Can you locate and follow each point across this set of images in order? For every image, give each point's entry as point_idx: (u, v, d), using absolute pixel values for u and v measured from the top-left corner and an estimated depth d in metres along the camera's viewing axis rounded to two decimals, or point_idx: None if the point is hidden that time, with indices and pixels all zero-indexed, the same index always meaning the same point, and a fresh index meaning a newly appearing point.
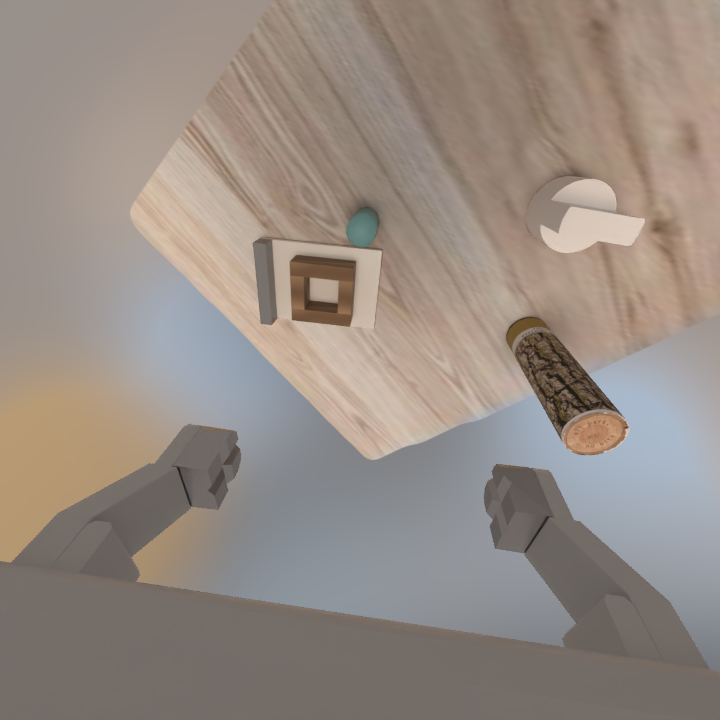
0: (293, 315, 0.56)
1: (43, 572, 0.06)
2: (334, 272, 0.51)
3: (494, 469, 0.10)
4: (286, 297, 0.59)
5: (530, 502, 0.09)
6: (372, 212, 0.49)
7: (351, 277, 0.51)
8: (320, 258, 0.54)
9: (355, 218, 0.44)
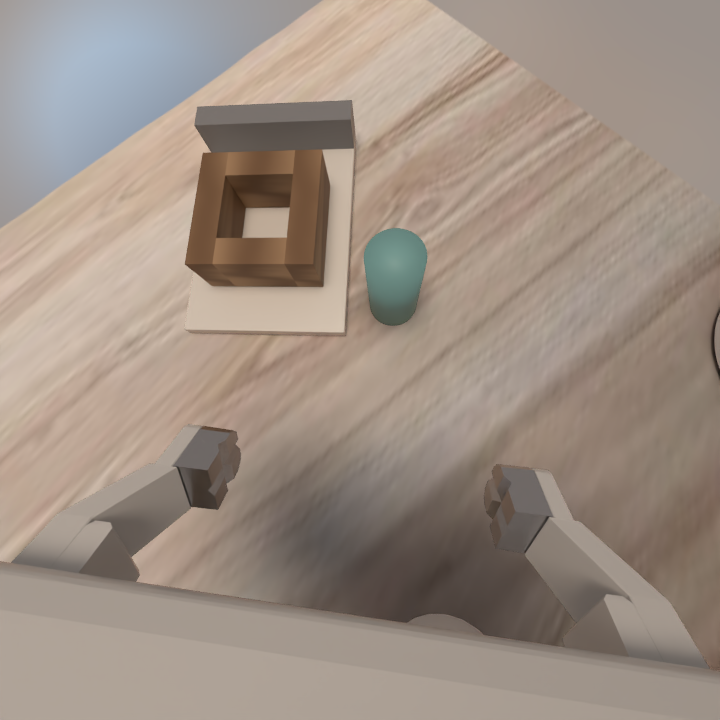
0: (211, 155, 0.27)
1: (43, 572, 0.06)
2: (303, 228, 0.25)
3: (494, 469, 0.10)
4: None
5: (530, 502, 0.09)
6: (415, 304, 0.26)
7: (294, 261, 0.25)
8: (326, 221, 0.29)
9: (421, 244, 0.21)
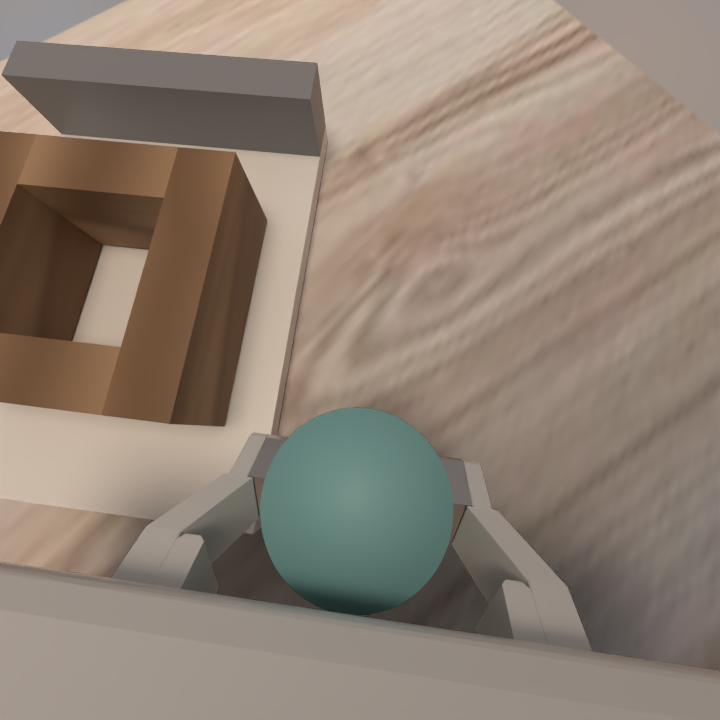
0: None
1: (43, 572, 0.06)
2: (163, 330, 0.11)
3: None
4: None
5: (452, 492, 0.09)
6: None
7: (125, 410, 0.10)
8: (245, 293, 0.15)
9: (437, 470, 0.07)
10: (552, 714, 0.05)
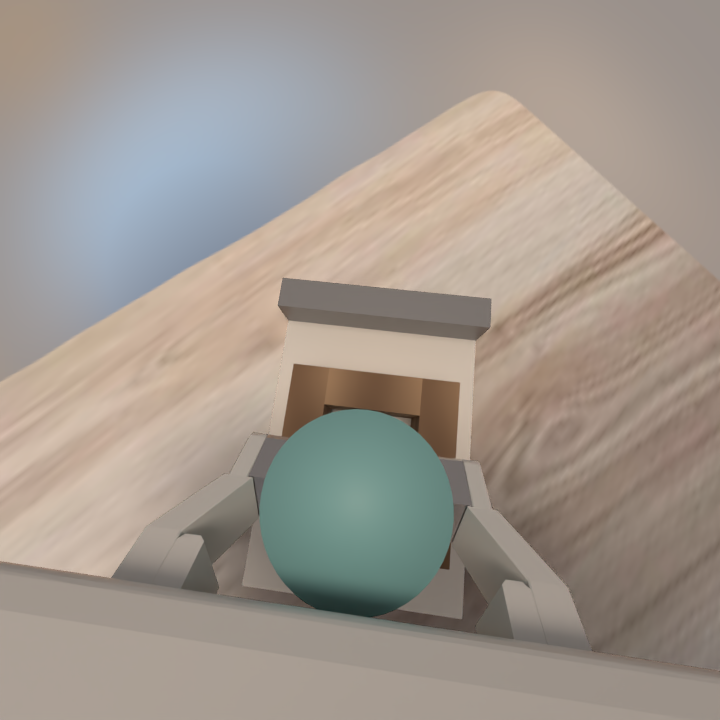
0: (306, 369, 0.20)
1: (43, 572, 0.06)
2: None
3: None
4: (340, 351, 0.24)
5: (452, 492, 0.09)
6: None
7: None
8: None
9: (437, 473, 0.07)
10: (552, 714, 0.05)
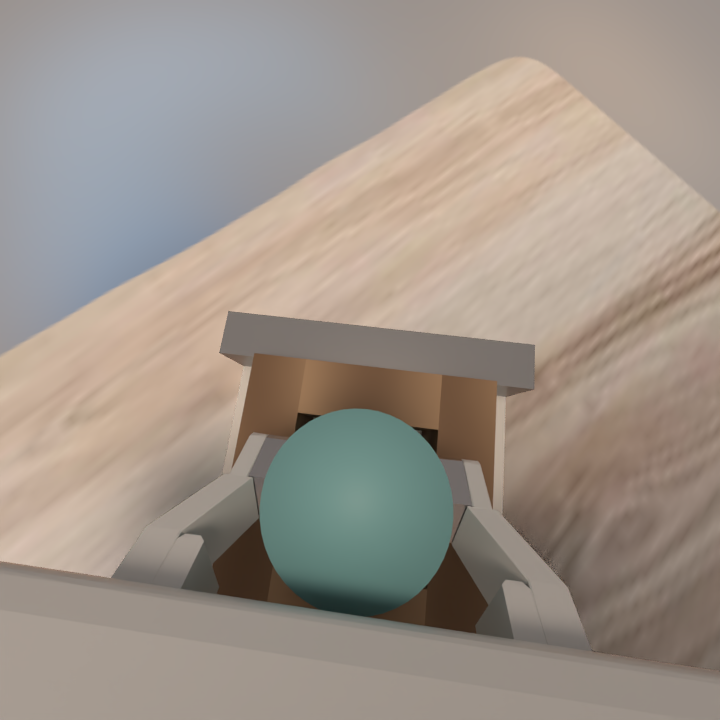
0: (272, 362, 0.14)
1: (43, 572, 0.06)
2: (463, 572, 0.12)
3: None
4: None
5: (452, 492, 0.09)
6: None
7: None
8: None
9: (437, 472, 0.07)
10: (552, 714, 0.05)
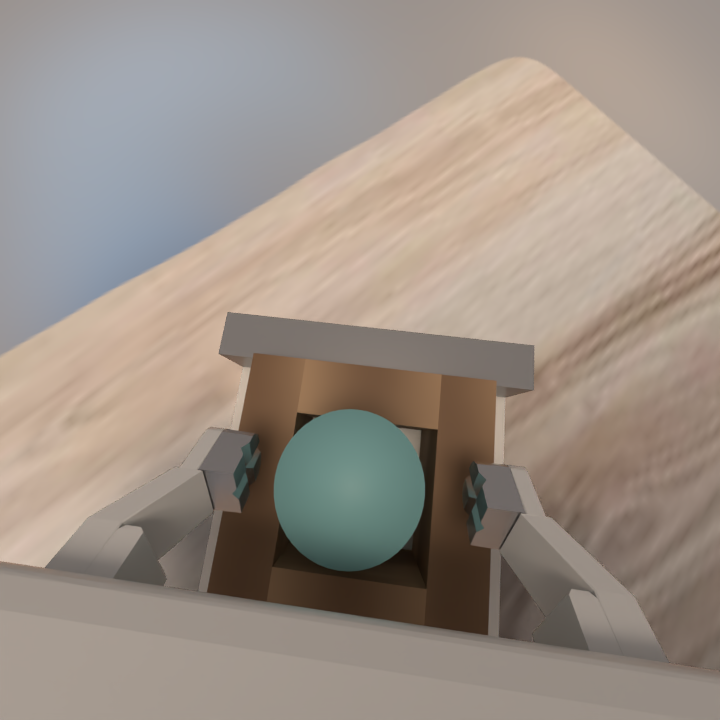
0: (271, 361, 0.14)
1: (43, 572, 0.06)
2: (463, 572, 0.12)
3: (471, 466, 0.10)
4: None
5: (503, 498, 0.09)
6: None
7: None
8: None
9: (412, 458, 0.09)
10: (552, 714, 0.05)
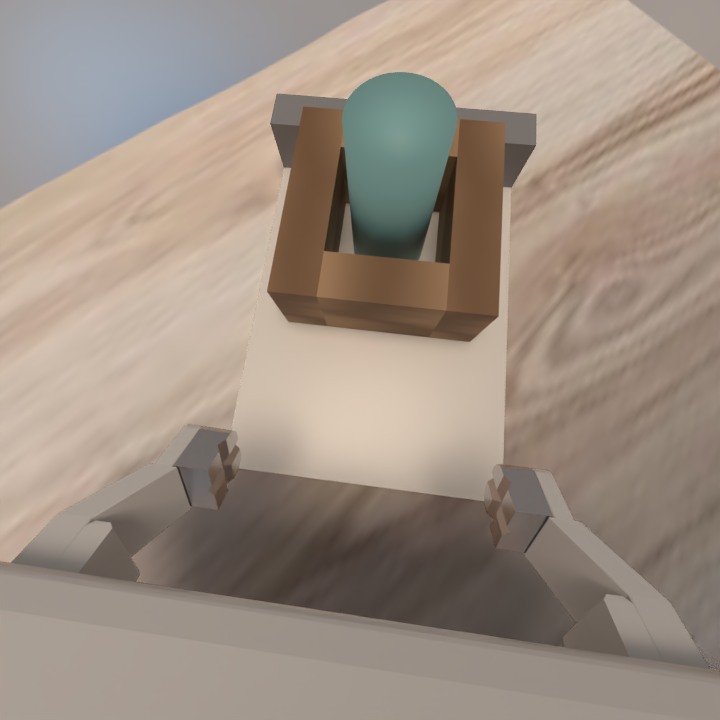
0: (318, 112, 0.16)
1: (43, 572, 0.06)
2: (479, 251, 0.15)
3: (494, 469, 0.10)
4: None
5: (530, 502, 0.09)
6: (423, 238, 0.17)
7: (464, 307, 0.14)
8: None
9: (447, 99, 0.12)
10: (552, 714, 0.05)
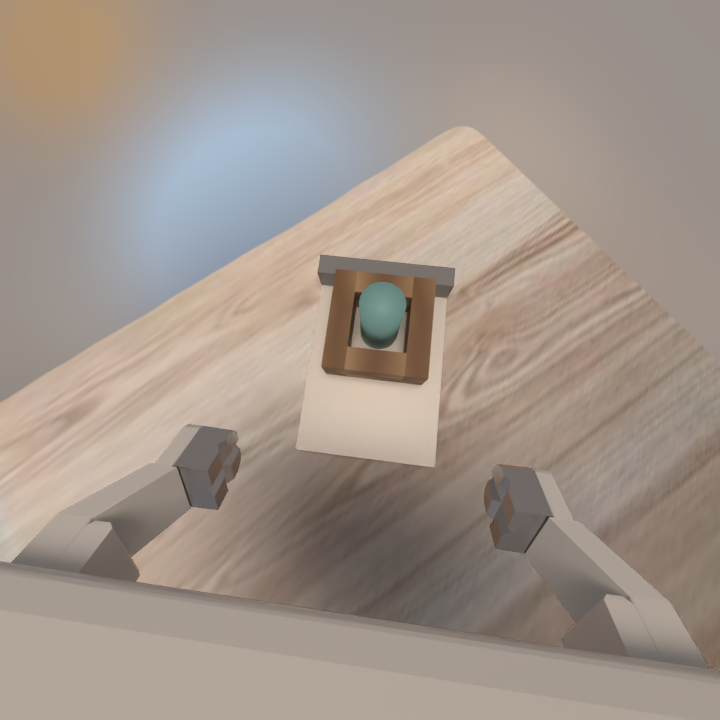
0: (343, 272, 0.33)
1: (43, 572, 0.06)
2: (420, 347, 0.31)
3: (494, 469, 0.10)
4: None
5: (530, 502, 0.09)
6: (396, 335, 0.33)
7: (412, 374, 0.31)
8: None
9: (402, 295, 0.28)
10: (552, 714, 0.05)
